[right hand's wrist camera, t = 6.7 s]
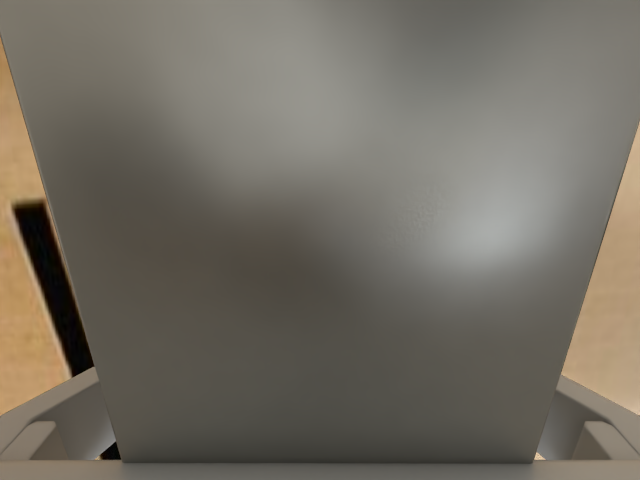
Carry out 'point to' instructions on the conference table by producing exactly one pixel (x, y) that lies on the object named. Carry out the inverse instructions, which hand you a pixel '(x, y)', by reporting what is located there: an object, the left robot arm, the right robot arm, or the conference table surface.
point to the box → (328, 213)
